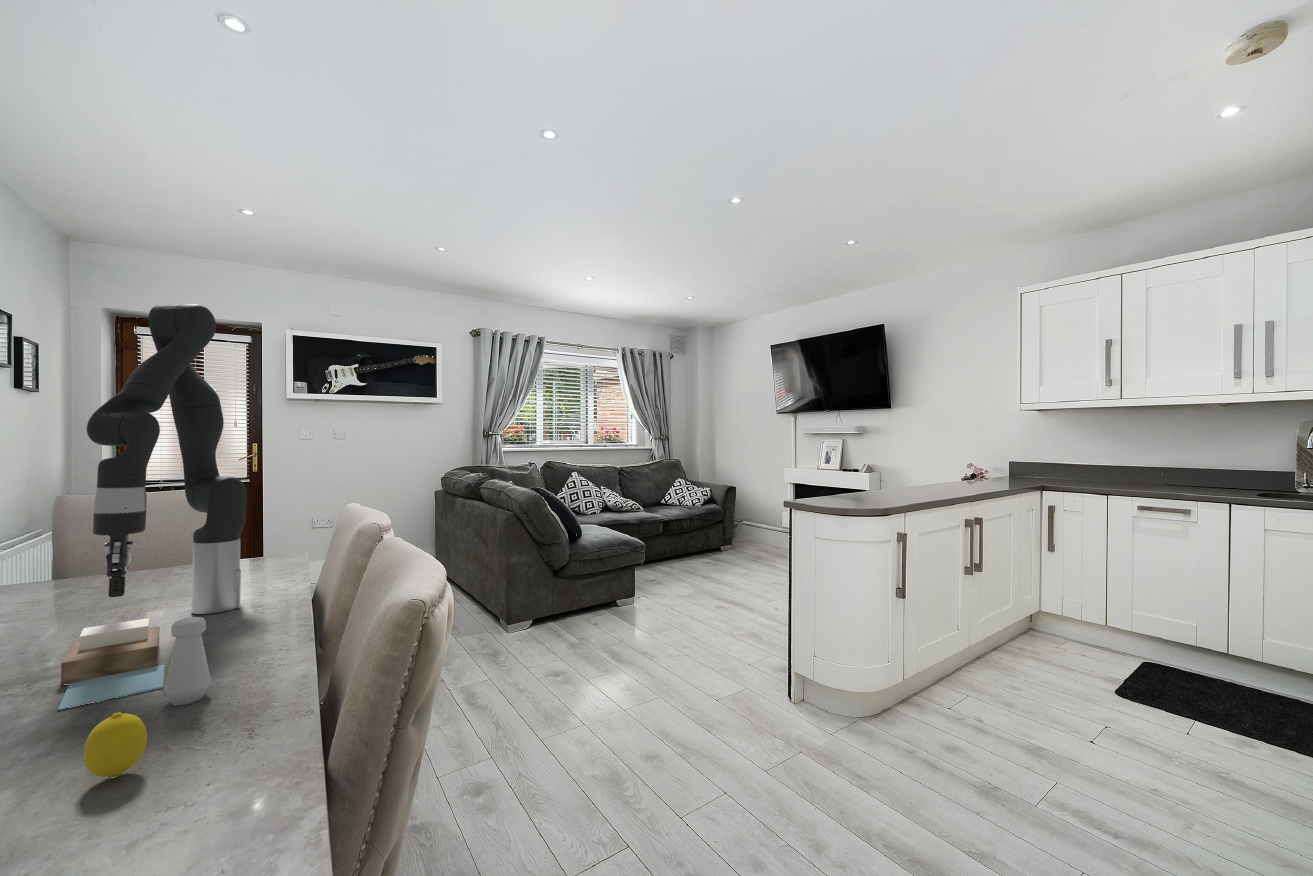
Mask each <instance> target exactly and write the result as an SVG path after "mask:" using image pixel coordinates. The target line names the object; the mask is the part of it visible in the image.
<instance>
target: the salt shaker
mask: <svg viewBox="0 0 1313 876" xmlns="http://www.w3.org/2000/svg"><path fill="white" fill-rule="evenodd" d="M170 628H171V629H170V634H171V636H172V637H173V638H175V640H174V644H173V647H172V648H173V649H172V652H171V657H170V661H169V665H168V670H167V672H166V673H167V674H166V678H165V680H164V681H165V683H164V686H163V692H164V695H165V697H166V698H167V699H168V702H169V703H170V704H171V705H173V706H175V707H178V706H183V705H189V704H192V703H195V702H197V701H200V700H202V699H203V697H204V695H205V693H206V692H207V690H208V689H209V687H210V685H211V683H212V678H211V675H210V674H211V673H210V671H209V670H210V669H209V665H208V660H207V655H206V651H205V647H204V646H205V645H204V642H203V637H202V634H203V633H204V632H205V631H206V628H207V622H206V619H205V618H203V617H200V616H192V617H186V618H182V619H180V620H179V619H178V620H177V621H174V623H173V624H172V625H171V627H170Z"/></svg>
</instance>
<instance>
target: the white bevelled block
mask: <svg viewBox="0 0 1313 876" xmlns="http://www.w3.org/2000/svg"><path fill="white" fill-rule="evenodd" d="M149 628H150V617H149V618H142V619H136V620H135V619H133V620H127V621H122V622H115V623H110V624H109V623H108V624H102V625H96V626H89V627H83V629H82V631H81V632H80V635H79V637H78V638H79V639H78V640H79V651H80V650H86V649H92V648H98V647H103V646H109V645H115V644H121V643H127V642H133V641H138V640H144V639H148V635H149Z"/></svg>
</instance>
